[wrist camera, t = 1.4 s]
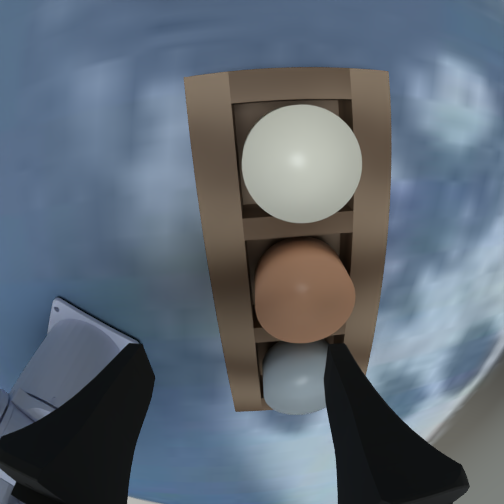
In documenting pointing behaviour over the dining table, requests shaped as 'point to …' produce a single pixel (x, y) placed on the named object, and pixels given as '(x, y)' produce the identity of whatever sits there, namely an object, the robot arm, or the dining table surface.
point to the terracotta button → (302, 290)
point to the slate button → (295, 377)
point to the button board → (275, 230)
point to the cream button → (301, 163)
